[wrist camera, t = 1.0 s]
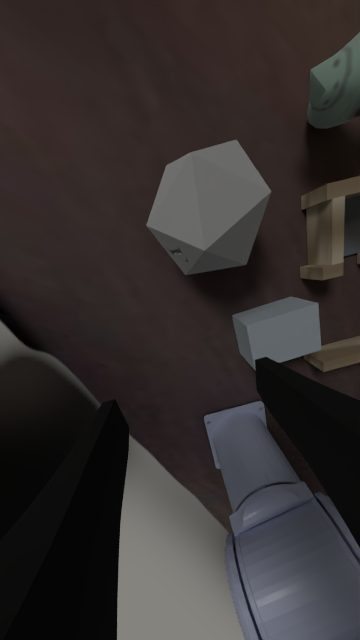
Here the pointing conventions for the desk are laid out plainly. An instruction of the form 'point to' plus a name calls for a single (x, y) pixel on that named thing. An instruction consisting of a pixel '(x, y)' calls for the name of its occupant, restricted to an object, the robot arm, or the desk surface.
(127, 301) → the desk surface
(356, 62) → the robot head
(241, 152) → the die
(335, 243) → the channel
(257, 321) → the grey block
